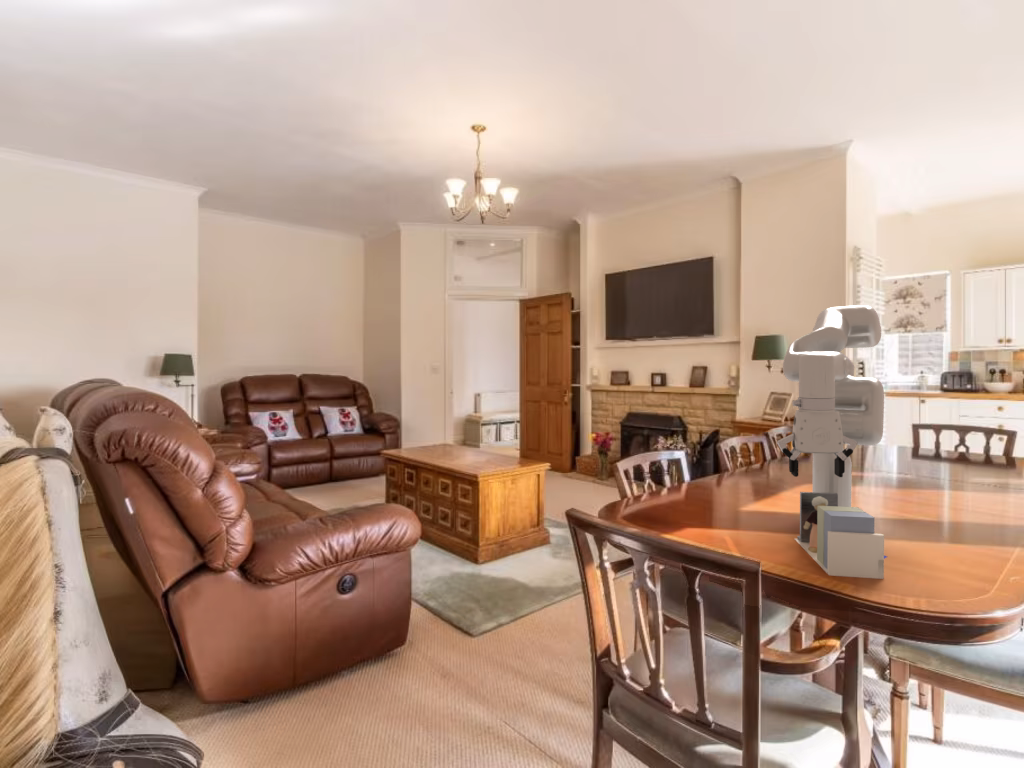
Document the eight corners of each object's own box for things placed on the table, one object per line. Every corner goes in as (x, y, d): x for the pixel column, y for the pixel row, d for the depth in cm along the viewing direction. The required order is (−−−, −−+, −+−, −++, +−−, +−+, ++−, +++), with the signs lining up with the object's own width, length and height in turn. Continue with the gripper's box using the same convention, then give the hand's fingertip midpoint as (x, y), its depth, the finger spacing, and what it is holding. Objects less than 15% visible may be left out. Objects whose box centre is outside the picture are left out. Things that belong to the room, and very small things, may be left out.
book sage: (817, 559, 120) (817, 505, 120) (857, 561, 118) (857, 507, 118) (823, 565, 116) (823, 510, 116) (864, 568, 115) (865, 512, 114)
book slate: (823, 566, 116) (824, 510, 116) (865, 568, 114) (866, 512, 114) (830, 573, 112) (831, 515, 112) (873, 575, 110) (874, 517, 110)
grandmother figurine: (815, 555, 122) (816, 500, 122) (800, 550, 126) (801, 496, 125) (838, 550, 125) (839, 496, 125) (823, 544, 129) (824, 492, 128)
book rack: (794, 543, 134) (794, 503, 134) (838, 545, 132) (839, 505, 132) (829, 580, 111) (829, 532, 111) (883, 584, 109) (884, 535, 109)
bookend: (797, 537, 134) (797, 489, 134) (832, 539, 133) (833, 491, 132) (801, 541, 131) (801, 492, 131) (837, 543, 130) (837, 494, 129)
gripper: (782, 407, 127) (782, 478, 128) (863, 406, 124) (863, 480, 125) (773, 403, 134) (773, 471, 135) (850, 402, 131) (849, 472, 132)
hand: (816, 475), depth 130 cm, fingers open, 9 cm apart
